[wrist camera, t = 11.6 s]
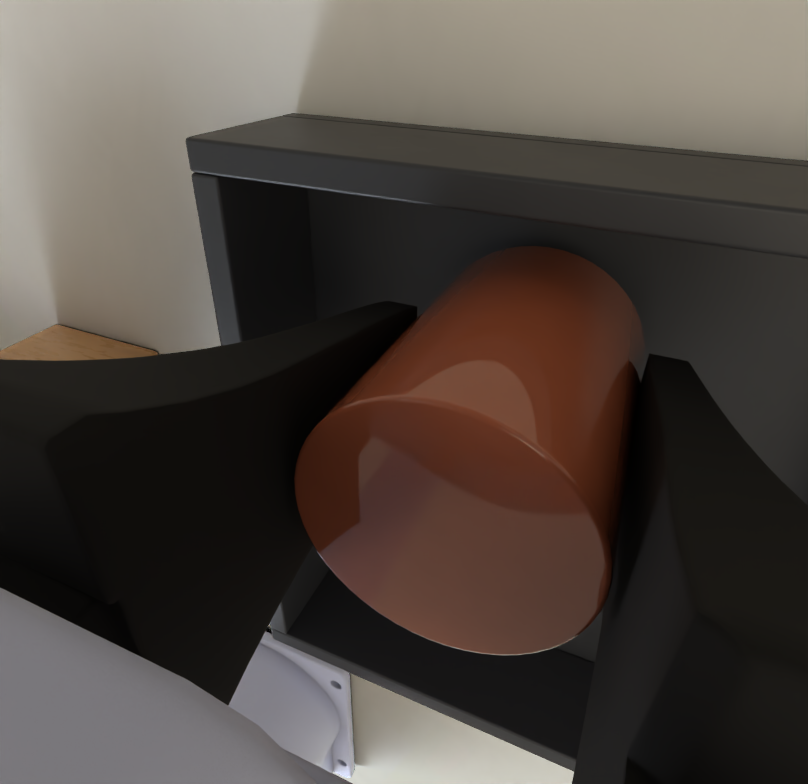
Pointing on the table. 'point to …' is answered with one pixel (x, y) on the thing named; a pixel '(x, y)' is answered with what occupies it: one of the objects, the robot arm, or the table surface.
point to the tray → (448, 256)
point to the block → (71, 347)
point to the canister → (485, 457)
